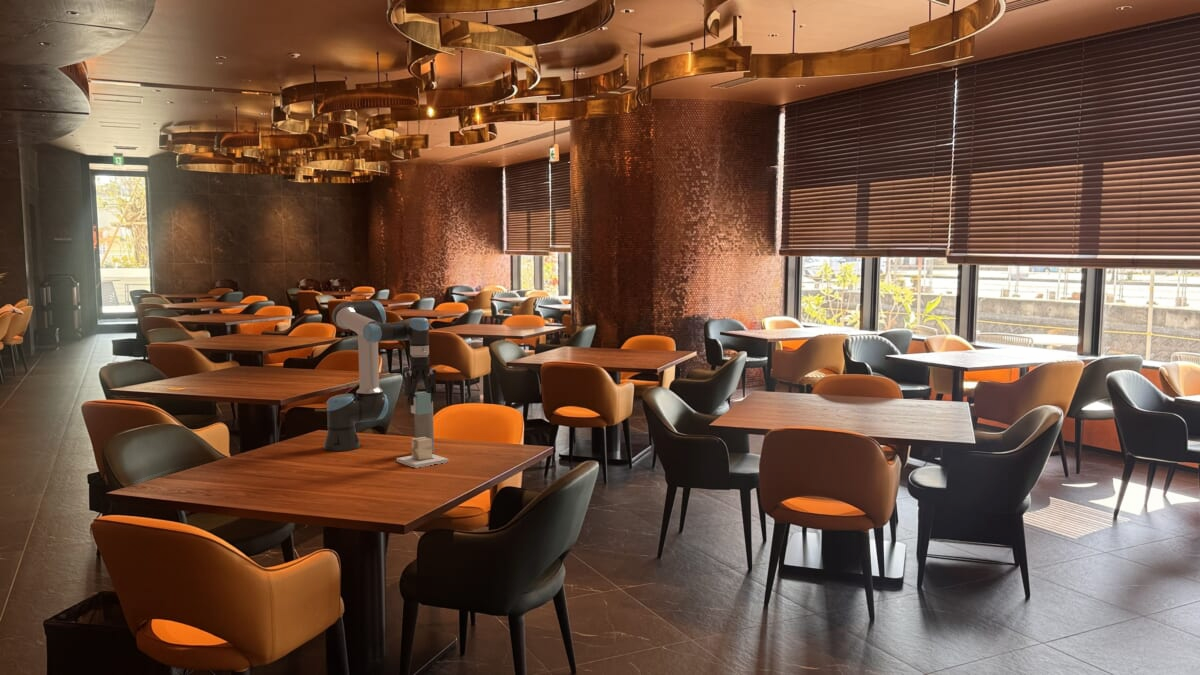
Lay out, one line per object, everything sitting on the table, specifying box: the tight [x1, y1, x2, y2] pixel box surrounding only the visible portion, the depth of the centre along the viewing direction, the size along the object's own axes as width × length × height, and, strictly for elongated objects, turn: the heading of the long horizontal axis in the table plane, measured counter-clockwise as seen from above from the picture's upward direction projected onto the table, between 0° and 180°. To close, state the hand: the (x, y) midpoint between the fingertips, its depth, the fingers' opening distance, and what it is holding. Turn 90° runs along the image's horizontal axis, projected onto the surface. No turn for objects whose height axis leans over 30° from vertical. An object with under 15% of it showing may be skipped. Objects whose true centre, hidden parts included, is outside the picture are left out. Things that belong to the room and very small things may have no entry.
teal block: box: [414, 391, 431, 415], centre depth 367 cm, size 6×6×8 cm
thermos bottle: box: [413, 387, 435, 454], centre depth 385 cm, size 8×8×28 cm
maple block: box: [411, 437, 432, 460], centre depth 369 cm, size 6×6×8 cm
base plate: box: [396, 453, 449, 469], centre depth 369 cm, size 16×15×2 cm
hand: (421, 412), depth 367 cm, fingers closed on teal block, 6 cm apart
